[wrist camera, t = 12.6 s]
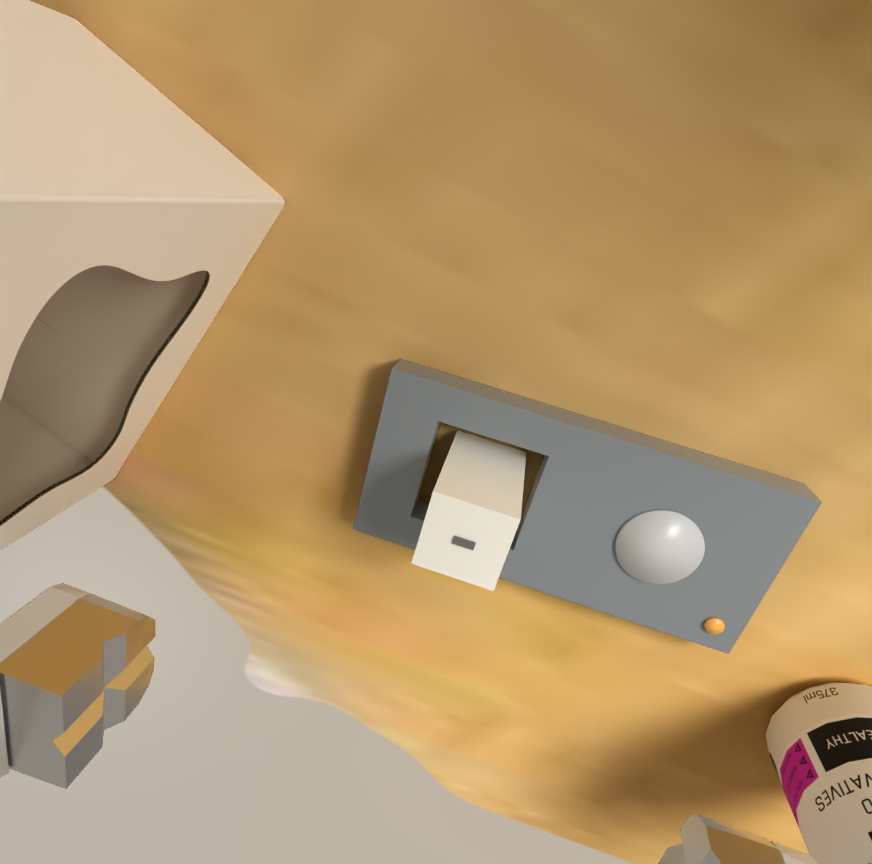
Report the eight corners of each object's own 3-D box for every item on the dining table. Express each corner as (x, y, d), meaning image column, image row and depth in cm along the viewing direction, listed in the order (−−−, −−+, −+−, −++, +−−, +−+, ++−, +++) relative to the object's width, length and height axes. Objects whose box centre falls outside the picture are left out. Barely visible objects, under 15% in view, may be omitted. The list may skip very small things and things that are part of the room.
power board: (804, 484, 30) (823, 504, 28) (718, 629, 34) (729, 656, 32) (400, 358, 31) (390, 369, 29) (363, 512, 35) (351, 530, 33)
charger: (526, 452, 32) (520, 520, 25) (504, 512, 34) (493, 592, 27) (457, 430, 32) (432, 492, 25) (438, 490, 34) (410, 564, 27)
